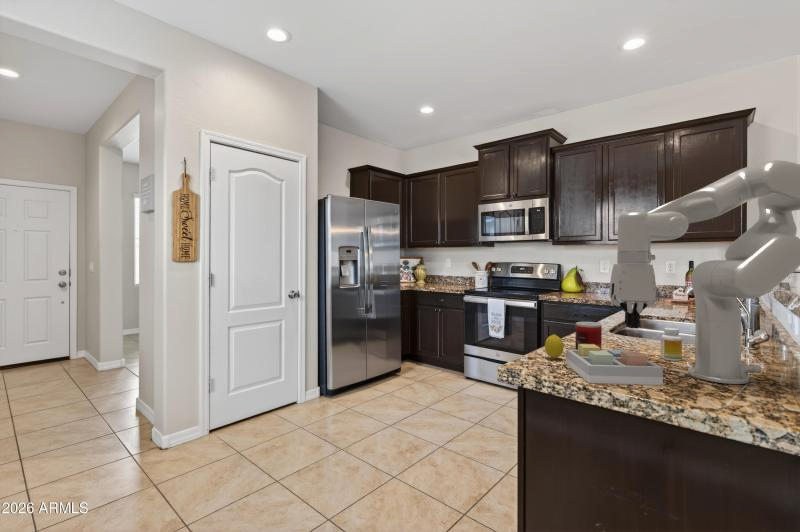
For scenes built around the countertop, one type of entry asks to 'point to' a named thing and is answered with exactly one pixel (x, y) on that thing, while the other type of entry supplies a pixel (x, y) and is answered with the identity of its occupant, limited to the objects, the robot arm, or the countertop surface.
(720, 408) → the countertop surface
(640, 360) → the key terracotta
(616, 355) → the key slate
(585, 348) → the key mustard
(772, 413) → the countertop surface
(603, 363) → the key sage
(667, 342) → the supplement bottle
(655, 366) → the keypad
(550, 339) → the lemon
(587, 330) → the canned food
